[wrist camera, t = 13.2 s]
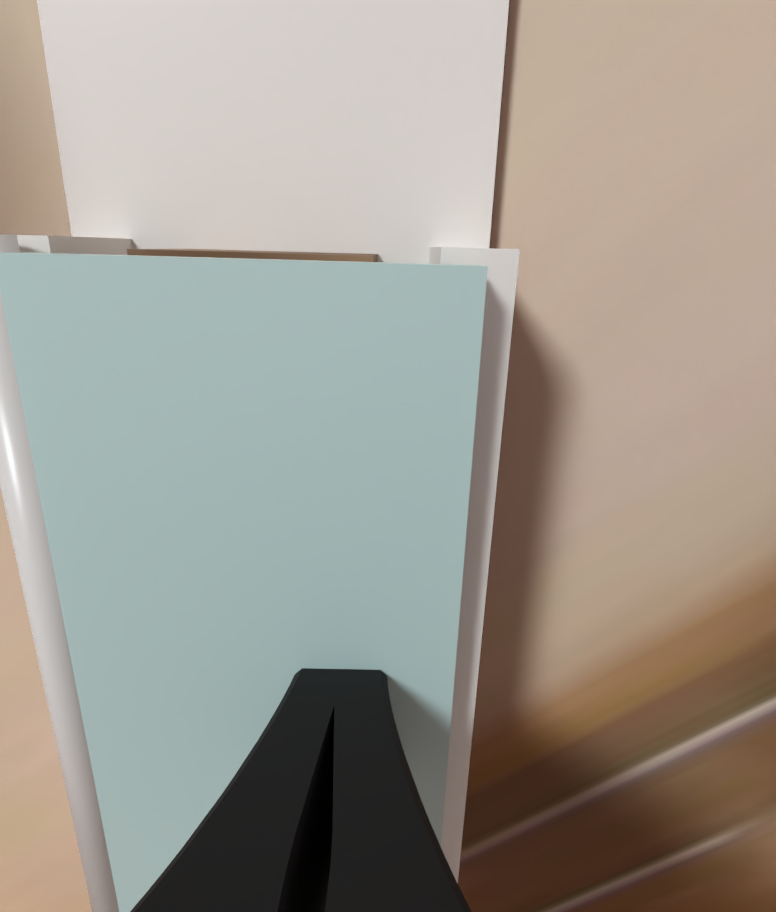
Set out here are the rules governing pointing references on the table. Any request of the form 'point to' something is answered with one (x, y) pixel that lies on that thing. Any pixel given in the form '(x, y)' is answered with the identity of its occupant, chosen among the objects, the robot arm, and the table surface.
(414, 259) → the white base with panel
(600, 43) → the table surface
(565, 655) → the table surface
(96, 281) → the cover
